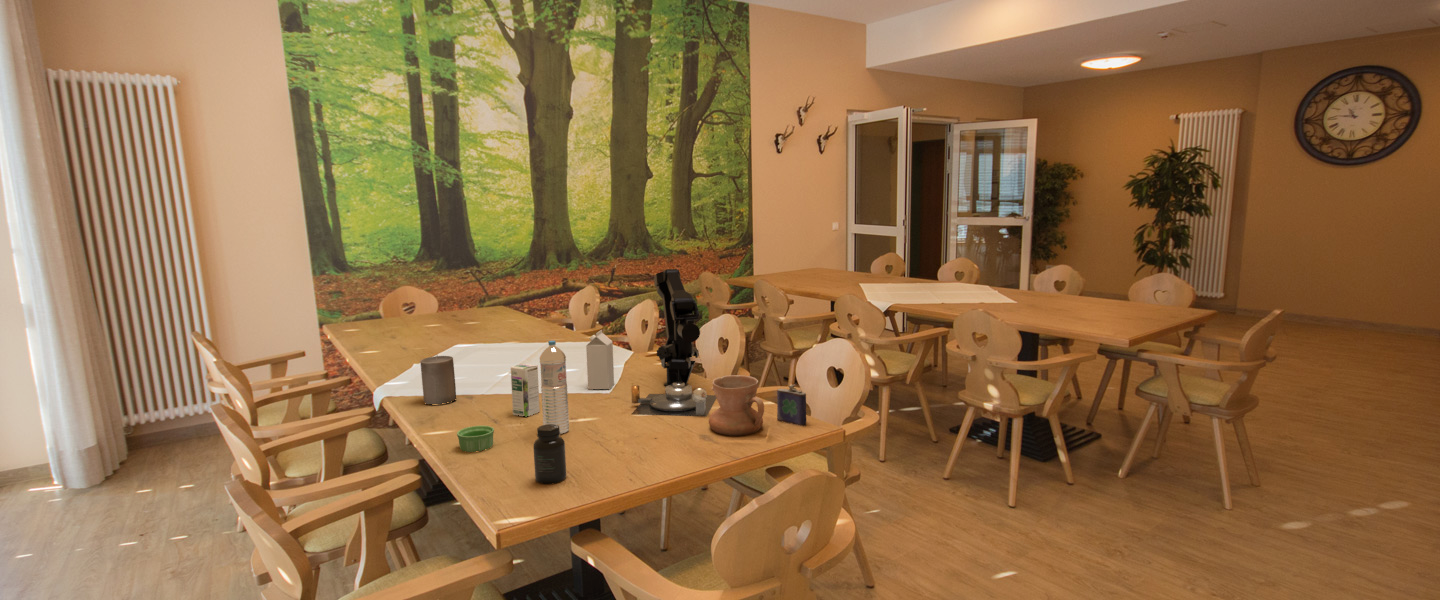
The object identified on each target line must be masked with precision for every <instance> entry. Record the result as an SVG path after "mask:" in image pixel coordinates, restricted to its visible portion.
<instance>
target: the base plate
mask: <svg viewBox="0 0 1440 600" xmlns="http://www.w3.org/2000/svg"><path fill="white" fill-rule="evenodd" d="M663 394H664V393H649V394H648V395H647V396H646V397H645V398H653V397H656V396H659V395H663ZM705 400H706V414H705V415H704V416H703V415H696V408H695V409H691V410H685V411H662V410H657V409H654V408H652V407H650V404H648V403H639V405H638V406H637V407H636V408H635V409H634V410H633V411H632V413H630V415H636V416H665V417H666V416H672V417H673V416H674V417H708V415H709V413H710V412H711V410H712V407H713V406H714V404H715V402H716V401H717V398H716V396H715V394H707V397H706V399H705Z"/></svg>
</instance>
